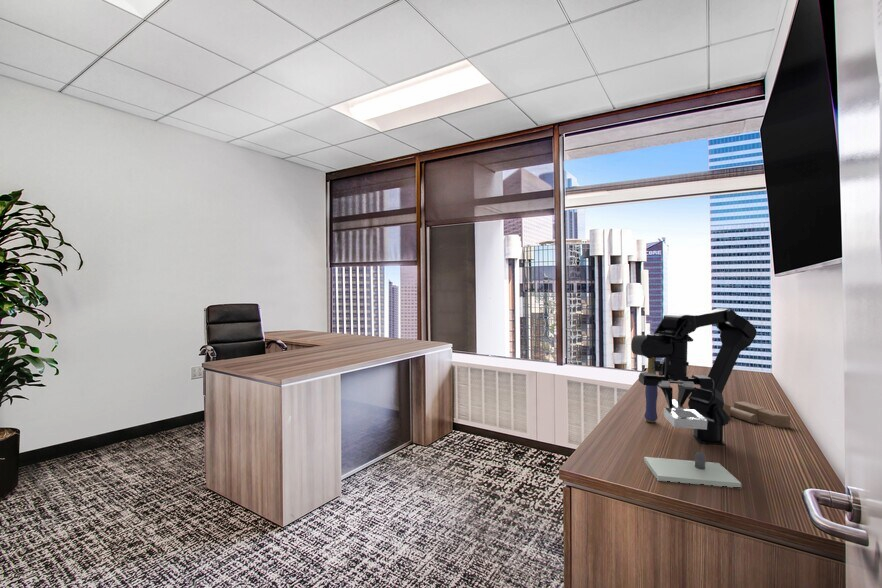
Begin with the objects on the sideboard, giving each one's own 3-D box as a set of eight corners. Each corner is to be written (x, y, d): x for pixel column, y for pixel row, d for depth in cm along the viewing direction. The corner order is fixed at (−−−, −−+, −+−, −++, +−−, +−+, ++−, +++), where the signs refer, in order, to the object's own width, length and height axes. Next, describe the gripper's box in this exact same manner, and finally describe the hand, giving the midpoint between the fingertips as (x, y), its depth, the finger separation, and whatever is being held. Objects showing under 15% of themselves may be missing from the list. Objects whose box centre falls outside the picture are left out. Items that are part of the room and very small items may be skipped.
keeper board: (718, 467, 106) (718, 448, 105) (741, 488, 95) (741, 466, 95) (644, 461, 109) (644, 442, 109) (657, 480, 98) (658, 459, 98)
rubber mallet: (628, 419, 143) (629, 334, 142) (635, 415, 148) (637, 333, 147) (667, 428, 134) (669, 338, 133) (673, 423, 139) (675, 336, 139)
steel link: (656, 407, 123) (656, 398, 123) (685, 409, 122) (685, 400, 122) (674, 427, 109) (674, 416, 109) (706, 429, 108) (707, 418, 107)
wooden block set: (741, 397, 153) (791, 412, 136) (740, 412, 153) (791, 429, 136) (703, 399, 150) (750, 415, 132) (703, 415, 150) (750, 432, 132)
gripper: (698, 353, 125) (697, 403, 126) (634, 351, 129) (633, 399, 129) (715, 360, 115) (714, 414, 115) (644, 357, 118) (643, 410, 118)
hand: (674, 409), depth 120 cm, fingers closed on steel link, 2 cm apart
